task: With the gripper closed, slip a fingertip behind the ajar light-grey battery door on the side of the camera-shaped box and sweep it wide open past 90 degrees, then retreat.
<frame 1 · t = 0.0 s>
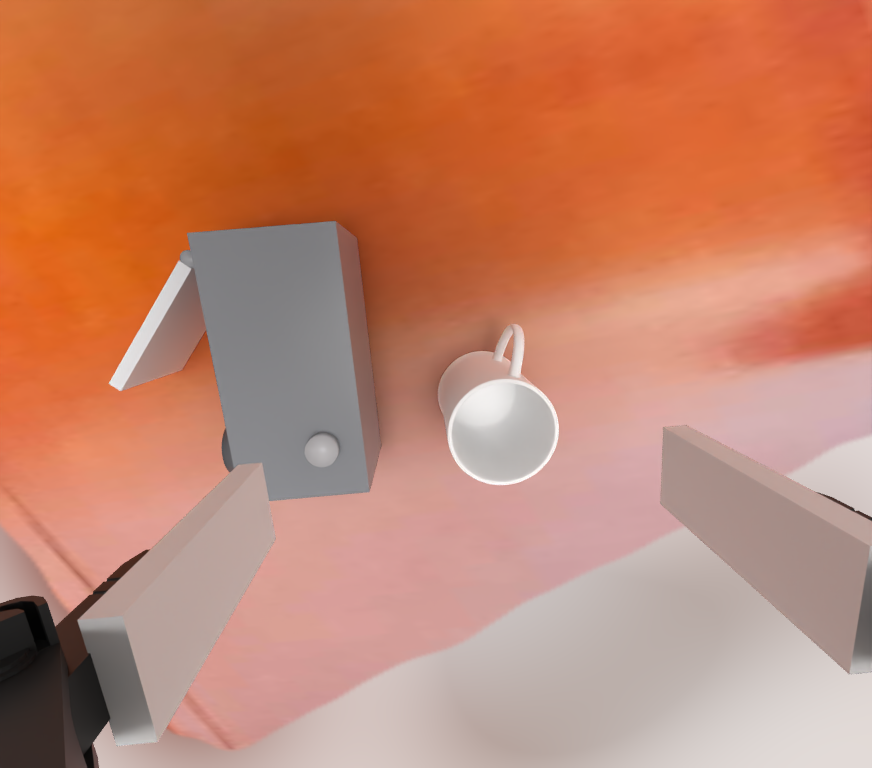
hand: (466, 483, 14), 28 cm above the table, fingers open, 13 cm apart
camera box: (317, 351, 41), on the table
mug: (486, 377, 42), on the table
door: (178, 314, 36), point 4 cm above the table, hinge at 40.0°
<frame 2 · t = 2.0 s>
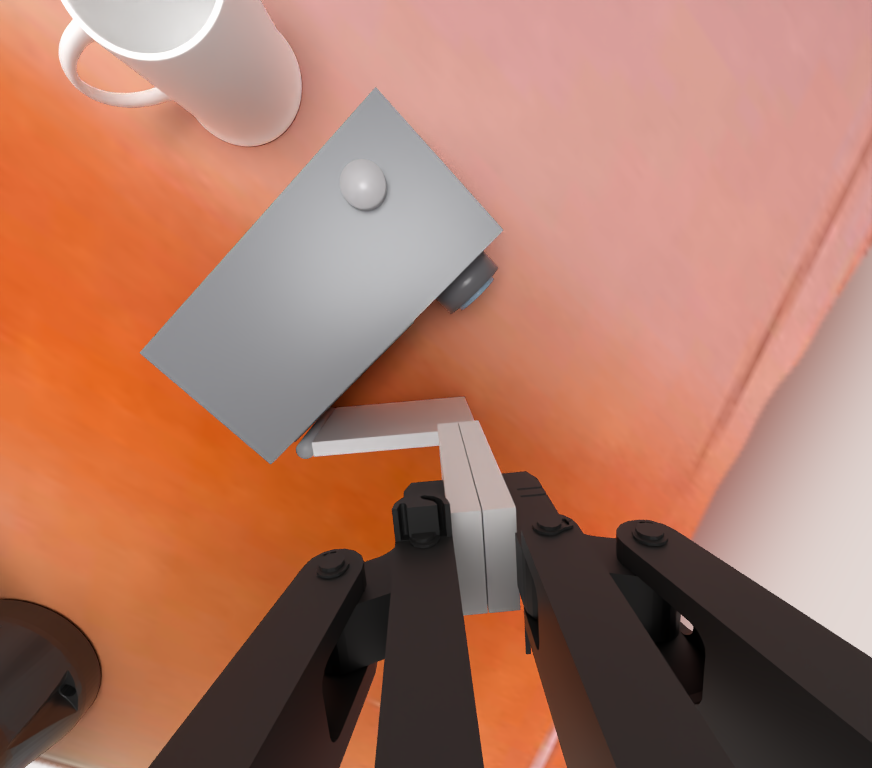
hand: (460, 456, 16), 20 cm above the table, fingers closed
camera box: (347, 291, 35), on the table
mug: (223, 92, 31), on the table
door: (392, 428, 33), point 4 cm above the table, hinge at 40.0°
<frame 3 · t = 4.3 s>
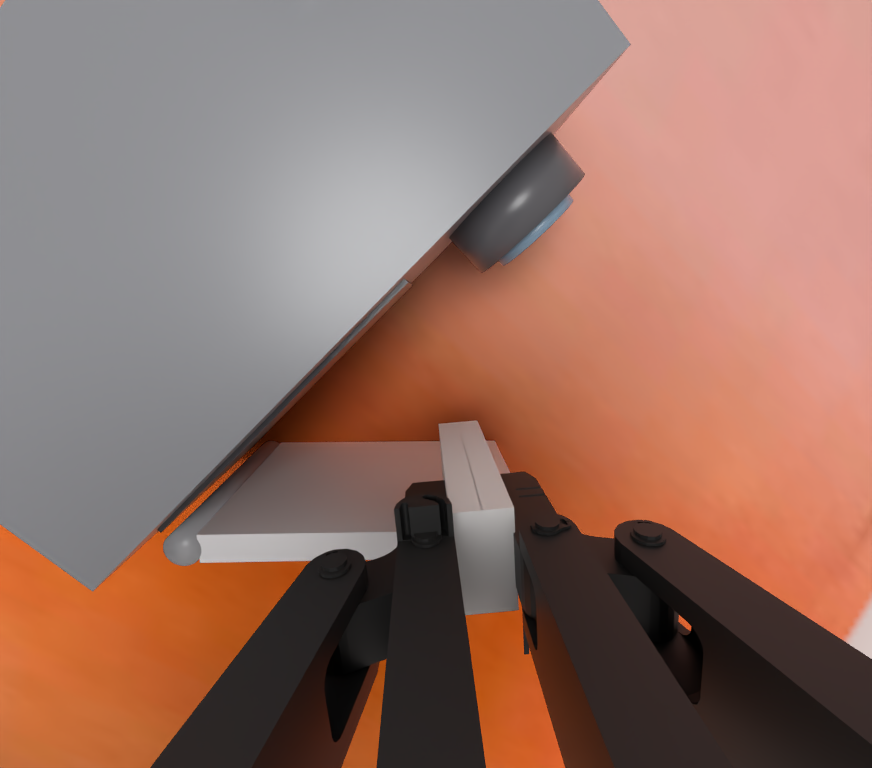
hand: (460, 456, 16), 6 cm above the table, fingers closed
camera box: (295, 243, 20), on the table
door: (368, 497, 18), point 4 cm above the table, hinge at 44.5°, touching gripper
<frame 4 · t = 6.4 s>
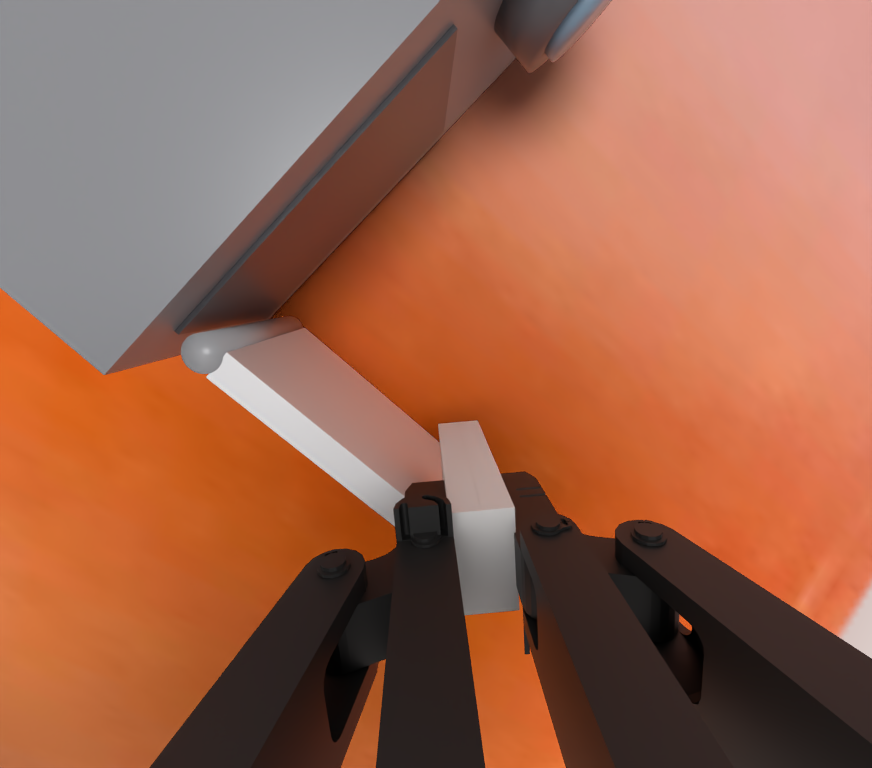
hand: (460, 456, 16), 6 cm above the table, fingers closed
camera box: (317, 91, 19), on the table
door: (357, 435, 18), point 4 cm above the table, hinge at 86.5°, touching gripper
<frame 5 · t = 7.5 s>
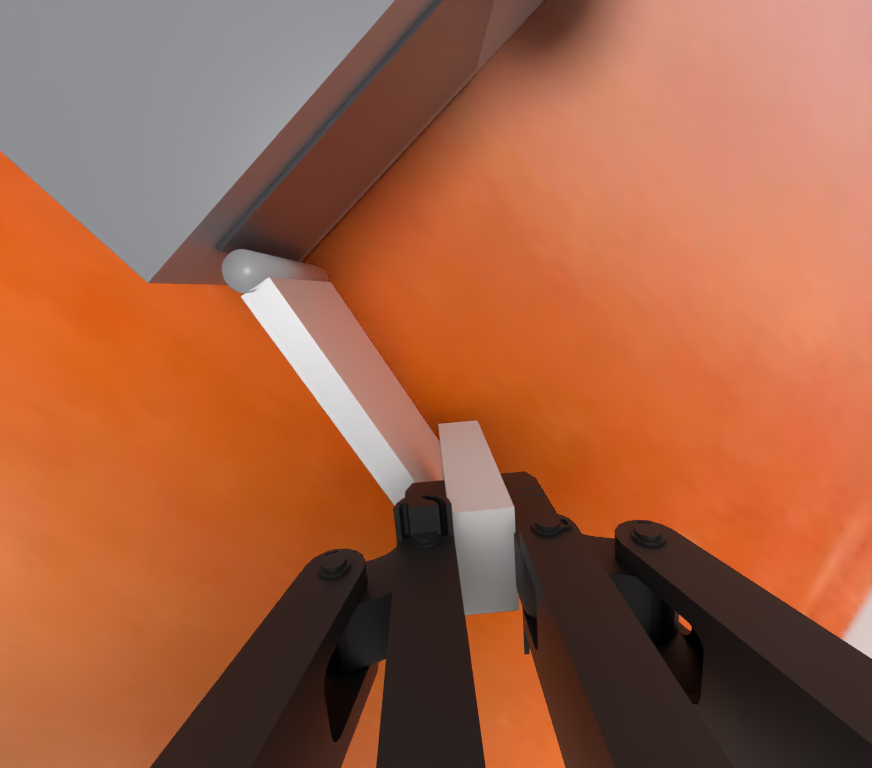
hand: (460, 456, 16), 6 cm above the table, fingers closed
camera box: (345, 30, 18), on the table
door: (362, 399, 17), point 4 cm above the table, hinge at 101.7°, touching gripper
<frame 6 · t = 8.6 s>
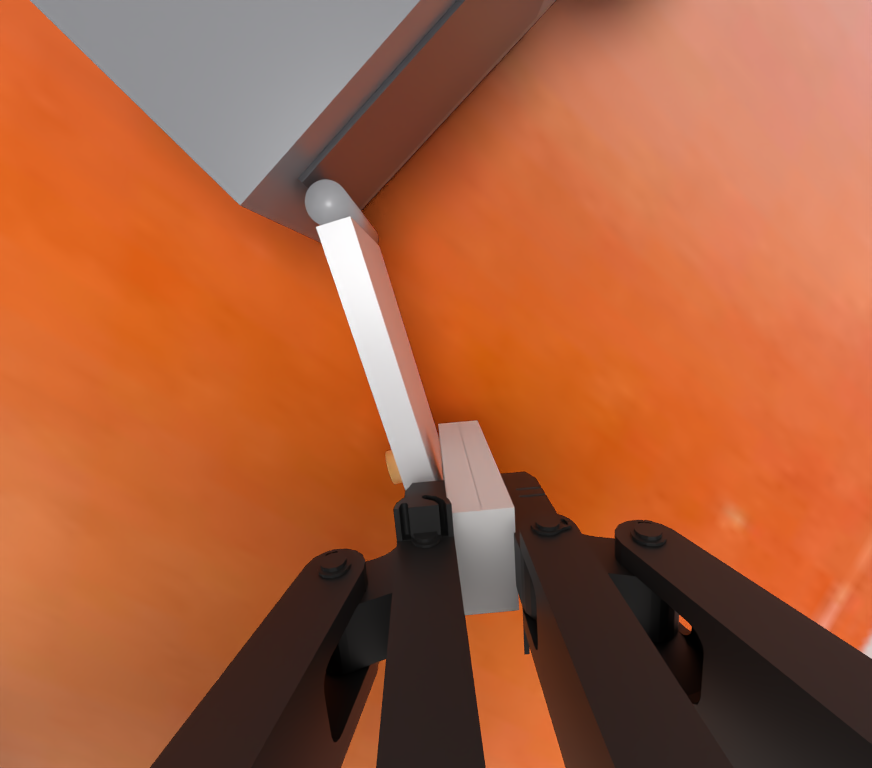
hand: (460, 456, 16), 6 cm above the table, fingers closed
door: (385, 367, 17), point 4 cm above the table, hinge at 118.1°, touching gripper
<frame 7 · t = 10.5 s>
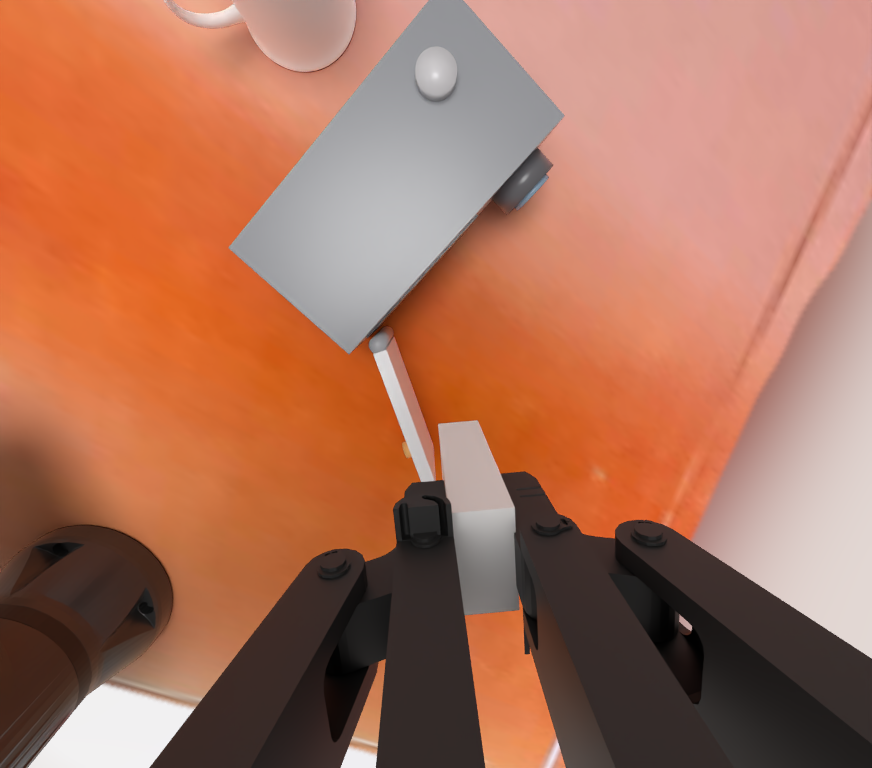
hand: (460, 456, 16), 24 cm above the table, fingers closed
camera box: (401, 211, 36), on the table
mug: (282, 20, 33), on the table
door: (400, 402, 36), point 4 cm above the table, hinge at 118.1°
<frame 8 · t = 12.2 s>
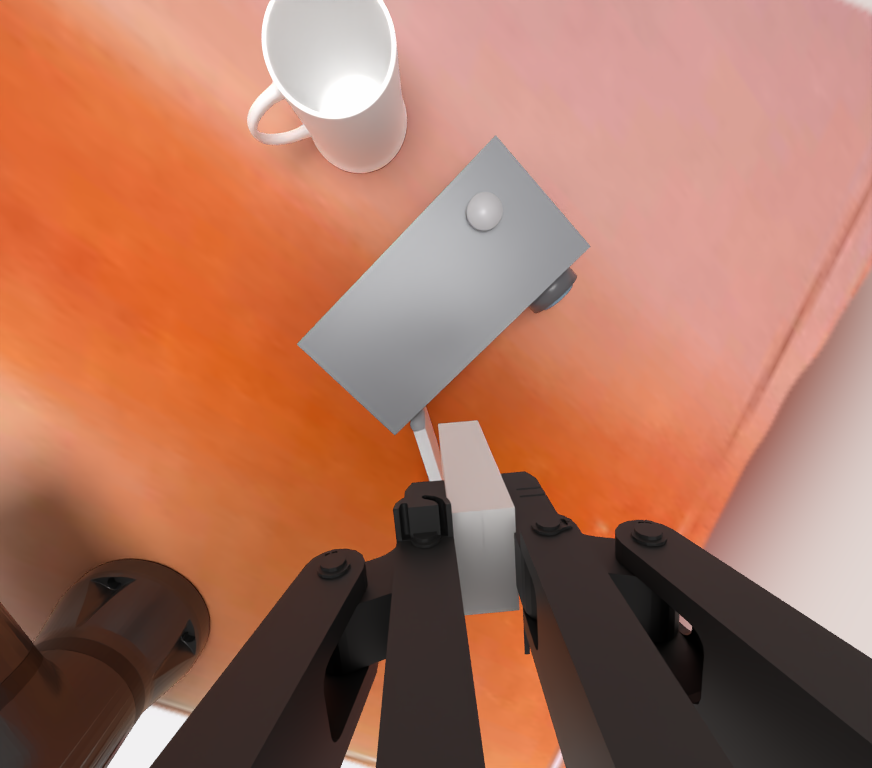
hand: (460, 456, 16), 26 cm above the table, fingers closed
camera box: (436, 294, 41), on the table
mug: (341, 128, 38), on the table
door: (430, 465, 40), point 4 cm above the table, hinge at 118.1°
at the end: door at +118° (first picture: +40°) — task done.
